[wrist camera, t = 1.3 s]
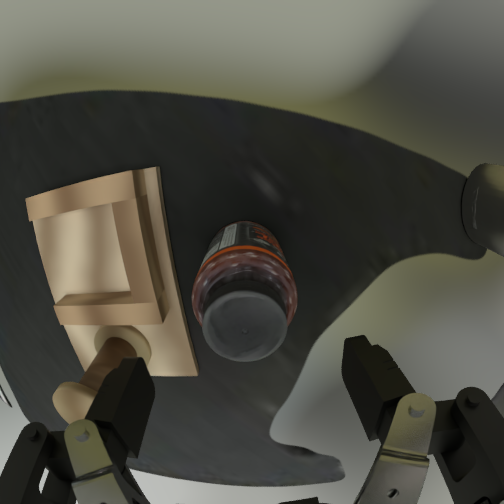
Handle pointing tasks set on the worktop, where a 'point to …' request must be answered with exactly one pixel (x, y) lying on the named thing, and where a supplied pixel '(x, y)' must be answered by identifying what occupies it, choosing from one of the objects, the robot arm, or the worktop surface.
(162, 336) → the notched board
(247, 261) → the supplement bottle
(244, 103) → the worktop surface
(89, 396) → the bobbin post
